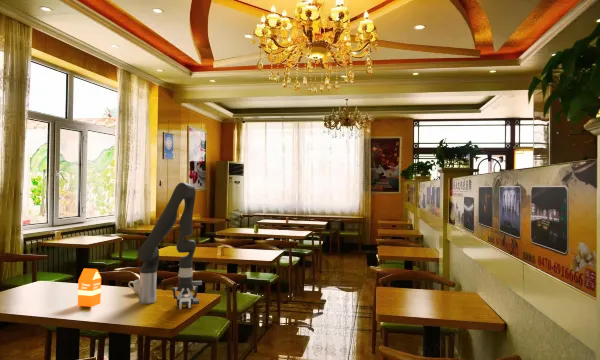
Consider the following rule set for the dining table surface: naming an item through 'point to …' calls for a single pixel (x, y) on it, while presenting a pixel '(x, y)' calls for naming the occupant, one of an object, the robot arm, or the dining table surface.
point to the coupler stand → (196, 300)
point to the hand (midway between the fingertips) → (184, 305)
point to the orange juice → (89, 288)
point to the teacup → (135, 285)
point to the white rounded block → (185, 300)
